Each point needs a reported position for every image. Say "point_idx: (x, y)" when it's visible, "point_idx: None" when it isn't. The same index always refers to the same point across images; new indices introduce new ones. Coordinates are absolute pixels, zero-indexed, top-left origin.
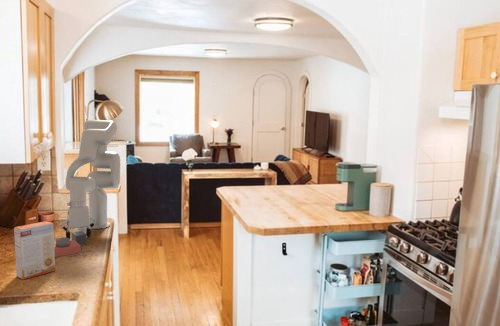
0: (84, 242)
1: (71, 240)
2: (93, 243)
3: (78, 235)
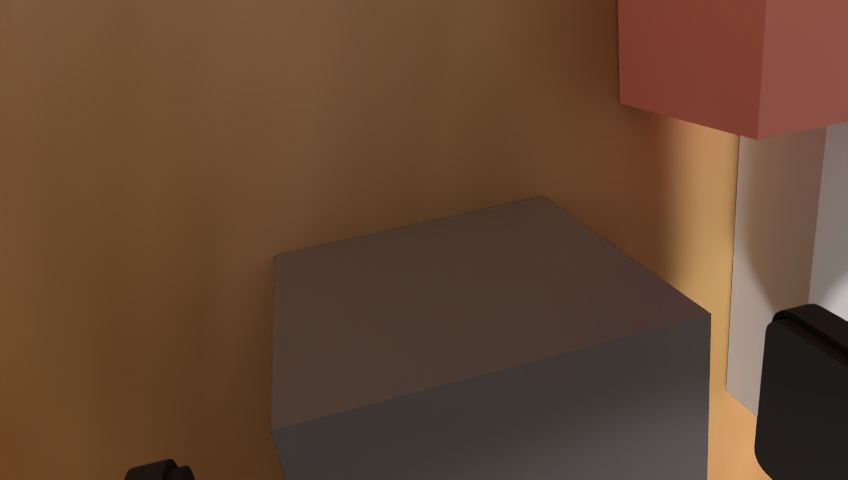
0: (333, 264)
1: (843, 103)
2: (61, 245)
3: (612, 366)
